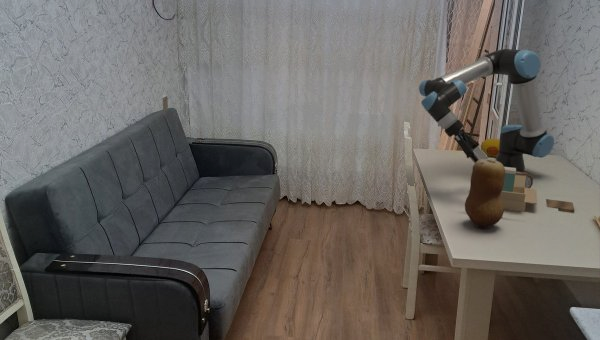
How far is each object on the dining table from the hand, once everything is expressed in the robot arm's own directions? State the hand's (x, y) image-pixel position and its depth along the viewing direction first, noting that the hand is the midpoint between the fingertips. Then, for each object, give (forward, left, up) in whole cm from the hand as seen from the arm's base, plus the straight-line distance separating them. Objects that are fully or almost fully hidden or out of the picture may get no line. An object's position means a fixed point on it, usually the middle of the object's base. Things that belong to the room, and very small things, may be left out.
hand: (484, 163), depth 215 cm
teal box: (+6, +8, -15) cm, 18 cm away
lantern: (-62, +55, -16) cm, 84 cm away
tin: (-9, +25, -16) cm, 31 cm away
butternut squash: (+24, -17, -16) cm, 34 cm away
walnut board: (+16, +27, -16) cm, 35 cm away
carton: (+6, +8, -16) cm, 19 cm away
